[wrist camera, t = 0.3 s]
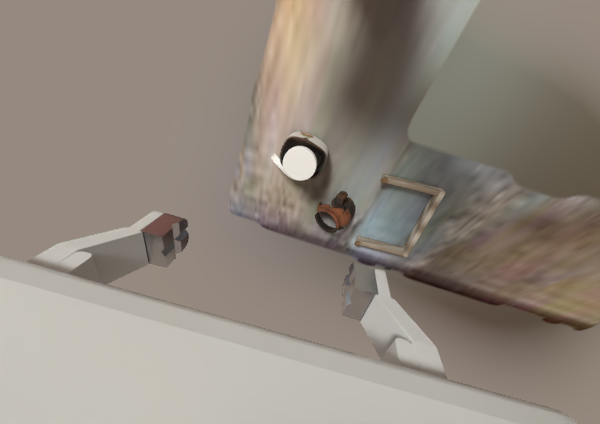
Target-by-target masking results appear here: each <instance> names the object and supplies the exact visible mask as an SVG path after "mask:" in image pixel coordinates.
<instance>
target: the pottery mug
mask: <svg viewBox="0 0 600 424" xmlns="http://www.w3.org/2000/svg"><path fill="white" fill-rule="evenodd" d="M347 195H348V194H347V193H346V192H344V191H341V192H340V193H339V194H338V195H337V196H336V198H334V199H333V200H332V203H331V205H332V206H333V207H330V205H329V204H326V205H321V202H320V203H319V204H318V206H317V214H315V219H316V221H317V223H318V224H319V226H320V227H321V228H323V229H324V230H325V231H327V232H332V233H333V232H336V231H337V230H341V229H343V228H344V227H341V226H346V225H347V224H348V223H349V221H350V220H351V219H352V218H353V216H354V212H355V205H354V202H353V201H352V200H351V199H350V198H349V197H348V199H347ZM343 207H345V210H344V209H343ZM321 211H322V212H326V213H328V214H330V215H331V216H332V217H333V219H334V220H335V222H336V228H334V229H333V227H330V226H328V225H327V224H325V223H324V222H323V220H322V219H321V217H320V215H319V212H321Z"/></svg>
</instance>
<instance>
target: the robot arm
mask: <svg viewBox="0 0 600 424" xmlns="http://www.w3.org/2000/svg"><path fill="white" fill-rule="evenodd" d="M187 226H188V222H187V220H186V219H184V218H181V217H177V216H174V215H170V214H167V213H163V212H159V211H153V212H151V213H150V214H149V215H147V216H145V217H144V218H142V219H141V220H140V221H138V222H137V223H135V224H134V225H132V226H131V227H129V228H121V229H116V230H112V231H108V232H104V233H100V234H96V235H92V236H88V237H83V238H79V239H76V240H71V241H67V242H63V243H59V244H57V245H55V246H53V247H51V248H50V249H48V250H46V251H44V252H43V253H41V254H39V255H38V256H36V257H34V258H33V259H31V260H29V261H27V262H24V261H21V260H17V259H13V258H10V257H6V256H3V255H0V424H579V423H578V422H576V421H575V420H574V419H573V418H572V417H570V416H568V415H567V414H565V413H563V412H561V411H558V410H555V409H552V408H549V407H546V406H543V405H539V404H535V403H532V402H527V401H524V400H521V399H517V398H513V397H510V396H506V395H502V394H499V393H495V392H492V391H488V390H484V389H481V388H477V387H473V386H470V385H466V384H463V383H459V382H455V381H452V380H448V379H447V377H446V374H445V371H444V368H443V365H442V362H441V360H440V357H439V354H438V351H437V348H436V346H435V345H434V344H433V343H432V342H431V341H430V340H429V338H428V337H427V336H426V335H425V334H424V333H423V331H422V330H421V329H420V328H419V327H418V326H417V325H416V324H415V322H414V321H413V320H412V319H411V318H410V317H409V315H408V314H407V313H406V312H405V311H404V310H403V309H402V307H401V306H400V305H399V304H398V303H397V302H396V300H395V299H391V295H390V291H389V286H388V282H387V278H386V273H385V271H384V270H380V269H376V268H371V267H367V266H363V265H359V264H355V263H352V264H351V265H350V268H349V274H348V275H346V277H345V279H344V283H343V289H342V295H343V297H344V300H343V302H342V315H343V316H346V317H350V318H353V319H357V320H360V322H361V324H362V326H363V328H364V329H365V331H366V333H367V335H368V337H369V339H370V340H371V342H372V344H373V346H374V347H375V349H376V351H377V353H378V355H379V357H380V360H377V359H373V358H369V357H366V356H362V355H358V354H355V353H351V352H347V351H344V350H341V349H337V348H333V347H330V346H326V345H323V344H319V343H315V342H312V341H308V340H305V339H301V338H297V337H294V336H290V335H287V334H283V333H280V332H276V331H272V330H269V329H265V328H261V327H258V326H254V325H251V324H247V323H244V322H240V321H236V320H232V319H229V318H225V317H222V316H218V315H215V314H211V313H208V312H204V311H200V310H197V309H193V308H190V307H186V306H183V305H179V304H175V303H172V302H168V301H165V300H161V299H157V298H154V297H150V296H147V295H143V294H139V293H136V292H132V291H129V290H125V289H121V288H118V287H114V286H110V285H107V284H108V283H110V282H112V281H114V280H116V279H118V278H121V277H123V276H125V275H127V274H129V273H131V272H133V271H135V270H137V269H140V268H141V267H144V266H146V265H148V264H149V263H150V264H154V265H158V266H163V267H167V266H168V265H169V264H170V263H171V262H172V261H173V260H174V259H175V258H176V253H179V252H182V251H183V249H184V248H185V247H186V245H187V243H188V239H189V234H188V232H187V231H186V228H187Z"/></svg>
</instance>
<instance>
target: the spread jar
mask: <svg viewBox="0 0 600 424" xmlns="http://www.w3.org/2000/svg"><path fill="white" fill-rule="evenodd" d="M327 156H328V148H327V146H326V145H325V144H324V143H323V142H322V141H321V140H320V139H319V138H317V137H316V136H314V135H312V134H309V133H305V132H294V133H292V134H291V135H290V136H289V137H288V138H287V139H286V141H285V142H284V144H283V146H282V149H281V152H280V157H279V156H278V155H277V154H276V153H275V154H274V155H273V156H272V157H271V158H272V160H273V161H274V162H275V163H276V165H277V166H278V167H279V168H280V169H281V170H282V171H283V172H284V174H285V175H286V176H288V177H289V178H292V179H294V180H298V181H303V180H307V179H312V178H315V177H317V176H318V175H319V174H320V172H321V171H322V169H323V168H324V166H325V163H326V160H327Z"/></svg>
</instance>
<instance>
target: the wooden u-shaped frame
mask: <svg viewBox="0 0 600 424" xmlns="http://www.w3.org/2000/svg"><path fill="white" fill-rule="evenodd" d="M381 183H384V184H386V183H388V184H392V185H396V186H400V187H404V188H408V189H412V190H416V191H420V192H424V193H428V194H433V195H432V196H431V198H430V200H429V202H428V204H427V205H426V207H425V209H424V211H423V212H422V214H421V216H420V218H419V219H418V221H417V223H416V225H415V226H414V228H413V230H412V232H411V234H410V235H409V237H408V239H407V241H406V242H405V244H404V246H403V247H400V246H396V245H392V244H388V243H385V242H381V241H377V240H373V239H369V238H365V237H361V236H357V240H356V242H355V245H357V246H359V245H362V246H366V247H370V248H373V249H377V250H381V251H385V252H389V253H393V254H397V255H400V256H404V257H408V255H409V253H410V252H411V250H412V248H413V247H414V245H415V243H416V242H417V240H418V238H419V237H420V235H421V233H422V232H423V230H424V228H425V227H426V225H427V223H428V222H429V220H430V218H431V217H432V215H433V213H434V212H435V210H436V208H437V207H438V205H439V203H440V202H441V200H442V198H443V197H444V195H445V193H446V192H445V191H444V190H443V189H442V188H439V187H435V186H431V185H427V184H423V183H419V182H415V181H411V180H407V179H403V178H399V177H395V176H390V175H386V174H383V176H382V180H381Z"/></svg>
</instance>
